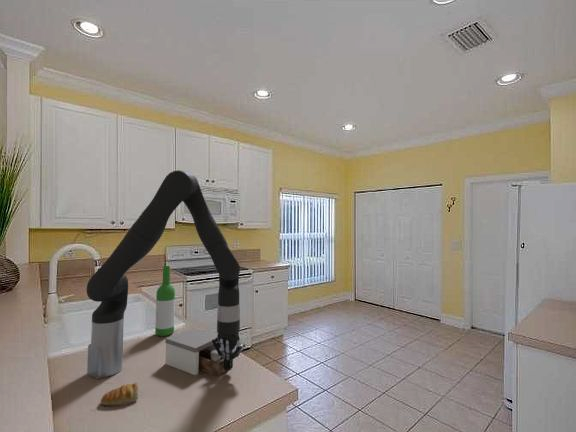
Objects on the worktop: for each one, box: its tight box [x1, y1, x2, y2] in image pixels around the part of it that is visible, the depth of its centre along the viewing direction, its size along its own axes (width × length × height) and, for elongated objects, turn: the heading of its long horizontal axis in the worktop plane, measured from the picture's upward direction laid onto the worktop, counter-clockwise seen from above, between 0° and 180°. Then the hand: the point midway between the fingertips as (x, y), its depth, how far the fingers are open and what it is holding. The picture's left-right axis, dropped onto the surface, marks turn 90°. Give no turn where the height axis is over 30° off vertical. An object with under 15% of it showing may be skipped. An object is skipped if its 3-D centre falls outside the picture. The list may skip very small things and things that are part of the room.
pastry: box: [100, 382, 140, 406], centre depth 85 cm, size 9×7×4 cm
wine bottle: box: [154, 265, 176, 337], centre depth 135 cm, size 8×8×30 cm
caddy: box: [198, 349, 227, 377], centre depth 106 cm, size 18×6×6 cm, turn 60°
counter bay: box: [164, 327, 221, 376], centre depth 108 cm, size 13×15×9 cm
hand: (228, 369), depth 100 cm, fingers closed
